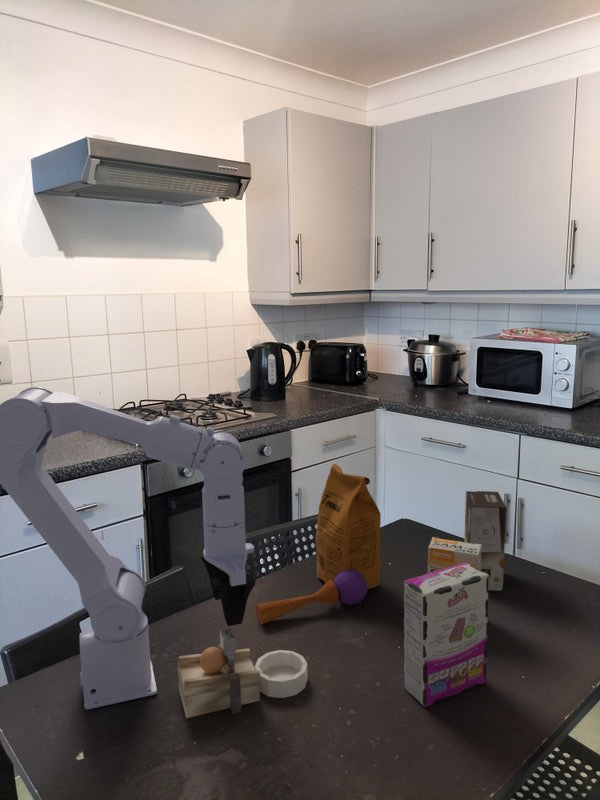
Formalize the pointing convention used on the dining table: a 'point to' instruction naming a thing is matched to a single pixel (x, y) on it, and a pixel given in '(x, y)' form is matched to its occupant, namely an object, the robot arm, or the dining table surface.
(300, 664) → the white round shallow bowl
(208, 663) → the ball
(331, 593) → the kendama
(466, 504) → the coffee box
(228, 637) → the gate
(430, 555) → the supplement box
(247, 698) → the wooden box
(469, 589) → the candy bar box
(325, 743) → the dining table surface
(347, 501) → the coffee package
